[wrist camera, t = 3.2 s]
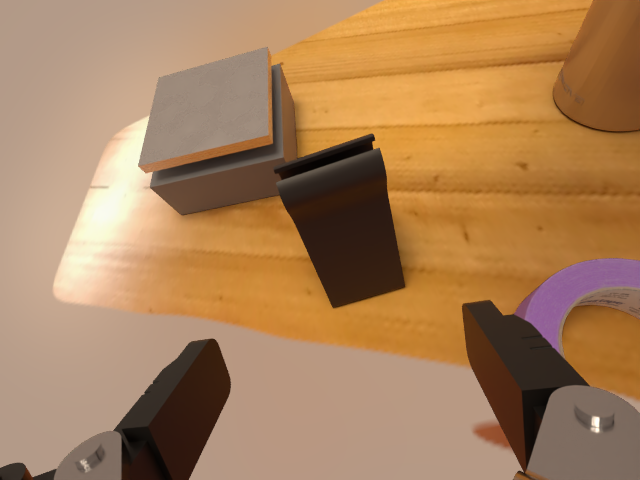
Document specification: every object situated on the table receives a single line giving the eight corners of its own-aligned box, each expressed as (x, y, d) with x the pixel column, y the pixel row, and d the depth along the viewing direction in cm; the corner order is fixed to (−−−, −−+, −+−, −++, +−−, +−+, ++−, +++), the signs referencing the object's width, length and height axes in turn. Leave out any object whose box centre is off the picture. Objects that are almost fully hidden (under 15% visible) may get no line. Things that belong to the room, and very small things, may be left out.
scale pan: (271, 56, 33) (267, 46, 33) (272, 143, 28) (268, 135, 27) (164, 85, 35) (158, 77, 34) (145, 173, 30) (138, 166, 29)
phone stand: (310, 218, 31) (263, 122, 21) (372, 199, 31) (355, 90, 20) (332, 308, 27) (286, 244, 16) (405, 288, 26) (405, 207, 16)
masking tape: (784, 404, 19) (867, 403, 15) (615, 519, 18) (663, 543, 15) (600, 249, 24) (631, 224, 21) (468, 332, 24) (478, 320, 21)
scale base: (293, 97, 39) (279, 59, 35) (299, 190, 33) (283, 157, 29) (194, 122, 41) (169, 89, 37) (181, 215, 35) (149, 187, 31)
